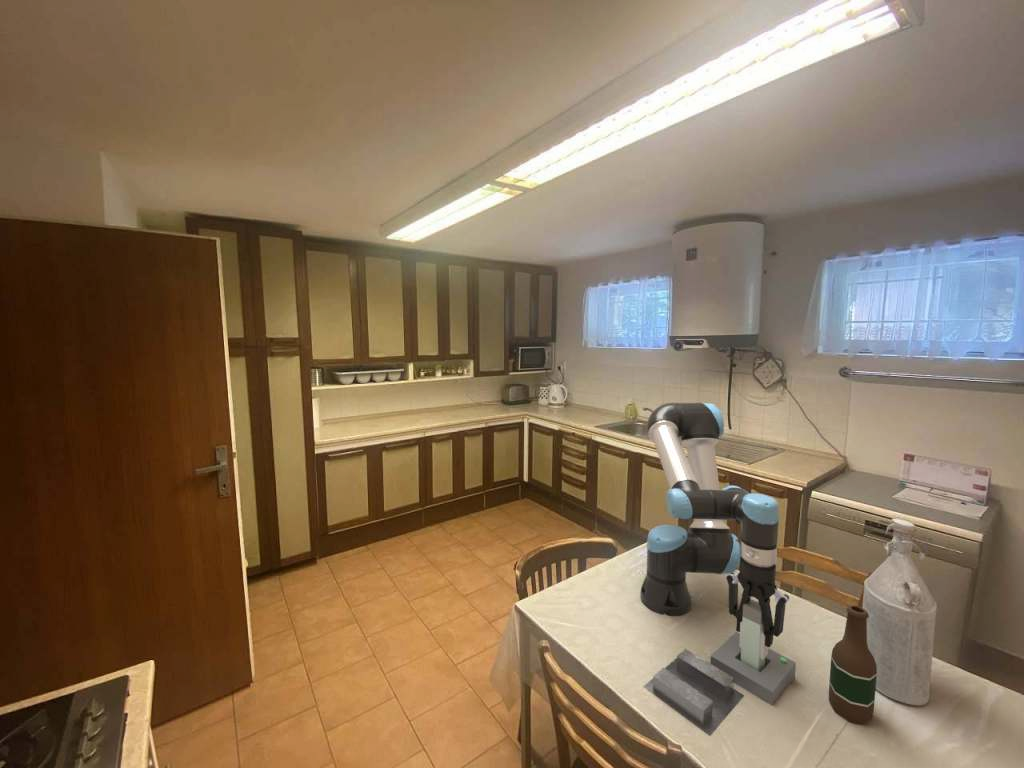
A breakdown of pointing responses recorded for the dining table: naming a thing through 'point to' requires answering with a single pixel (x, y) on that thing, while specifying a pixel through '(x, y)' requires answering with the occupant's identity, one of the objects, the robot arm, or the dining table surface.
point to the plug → (752, 635)
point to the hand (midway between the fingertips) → (753, 650)
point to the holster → (696, 690)
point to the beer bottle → (853, 671)
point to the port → (758, 683)
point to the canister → (900, 620)
